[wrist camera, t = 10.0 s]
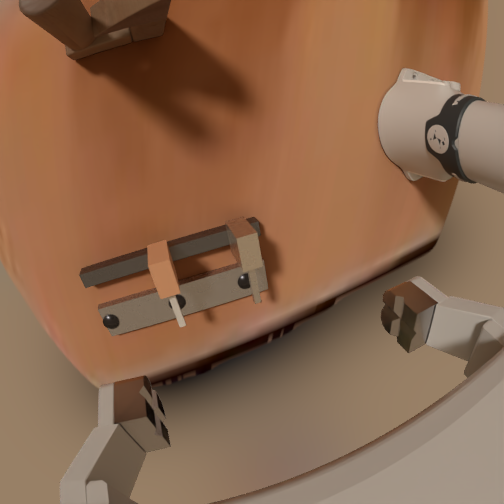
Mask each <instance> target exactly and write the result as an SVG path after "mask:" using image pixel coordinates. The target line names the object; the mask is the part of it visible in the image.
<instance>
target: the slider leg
mask: <svg viewBox="0 0 504 504" xmlns="http://www.w3.org/2000/svg"><path fill="white" fill-rule="evenodd" d="M147 251H148V267H149V270H150V273H151V276H152V278H153V281H154V284H155V286H156V289H157V291H158V294H159V297H160V299H163V298H167V297H168V298H169V300H170V303H171V305H172V308H173V311H174V313H175V316H176V318H177V321H178V323H179V326H180V327H183V326H186V323H185V320H184V317H183V314H182V312H181V309H180V306H179V304H178V301H177V298H176V295H177V294H180V293H181V292H180V288H179V283H178V278H177V274H176V269H175V266H174V263H173V260H172V257H171V254H170V251H169V247H168V244H167V241H166V240H163V241H160V242H157V243H153V244H150V245H147Z"/></svg>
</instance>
